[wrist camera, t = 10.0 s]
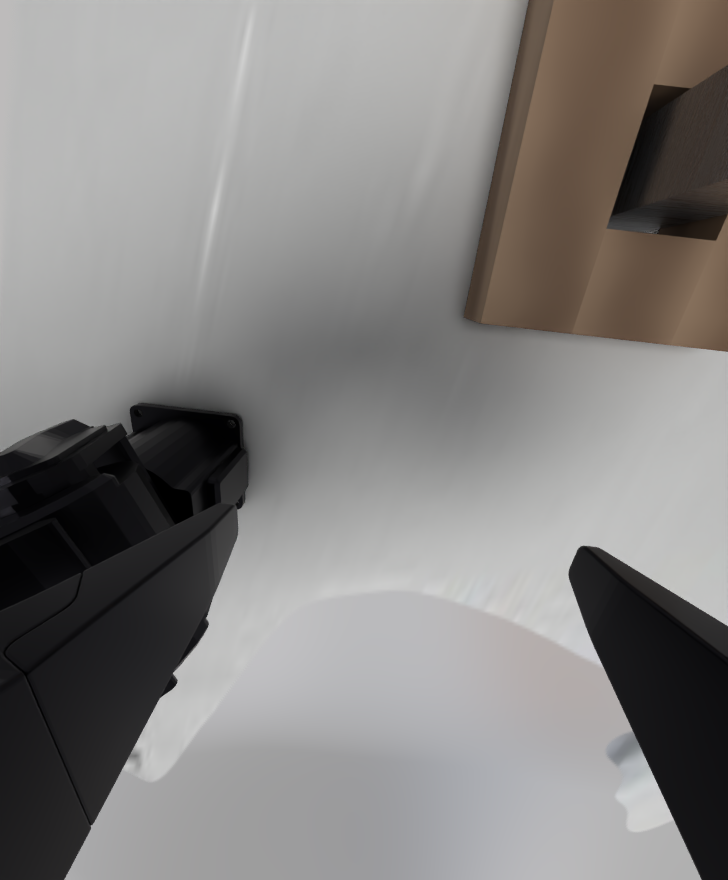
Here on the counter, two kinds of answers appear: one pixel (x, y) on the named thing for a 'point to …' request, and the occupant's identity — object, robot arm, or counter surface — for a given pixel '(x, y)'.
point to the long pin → (678, 162)
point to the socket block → (599, 179)
